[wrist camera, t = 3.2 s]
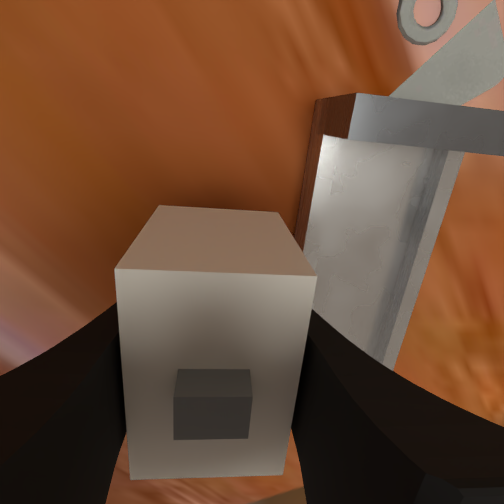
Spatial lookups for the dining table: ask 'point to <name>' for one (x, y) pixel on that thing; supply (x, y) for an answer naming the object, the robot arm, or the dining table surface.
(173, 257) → the module
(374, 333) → the rail
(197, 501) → the dining table surface
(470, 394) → the dining table surface
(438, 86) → the mounting bracket
